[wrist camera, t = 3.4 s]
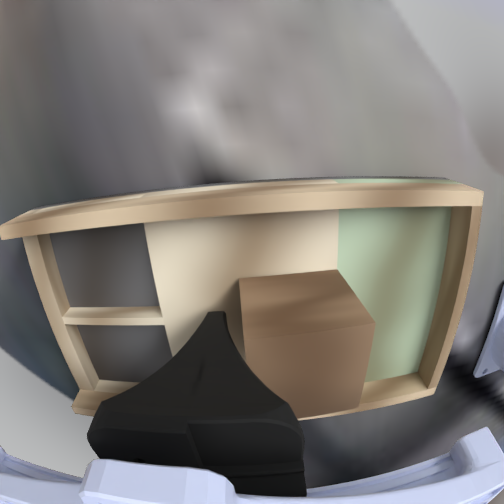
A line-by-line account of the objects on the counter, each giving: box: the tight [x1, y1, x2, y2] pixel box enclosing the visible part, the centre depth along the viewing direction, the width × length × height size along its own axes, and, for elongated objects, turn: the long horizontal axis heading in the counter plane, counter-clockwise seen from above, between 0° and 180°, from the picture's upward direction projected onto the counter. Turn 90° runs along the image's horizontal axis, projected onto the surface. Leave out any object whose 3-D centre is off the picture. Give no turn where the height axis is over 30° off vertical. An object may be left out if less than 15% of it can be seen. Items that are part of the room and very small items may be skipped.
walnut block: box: [239, 269, 376, 419], centre depth 12 cm, size 4×4×4 cm
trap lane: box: [0, 177, 484, 420], centre depth 14 cm, size 20×11×3 cm, turn 94°
